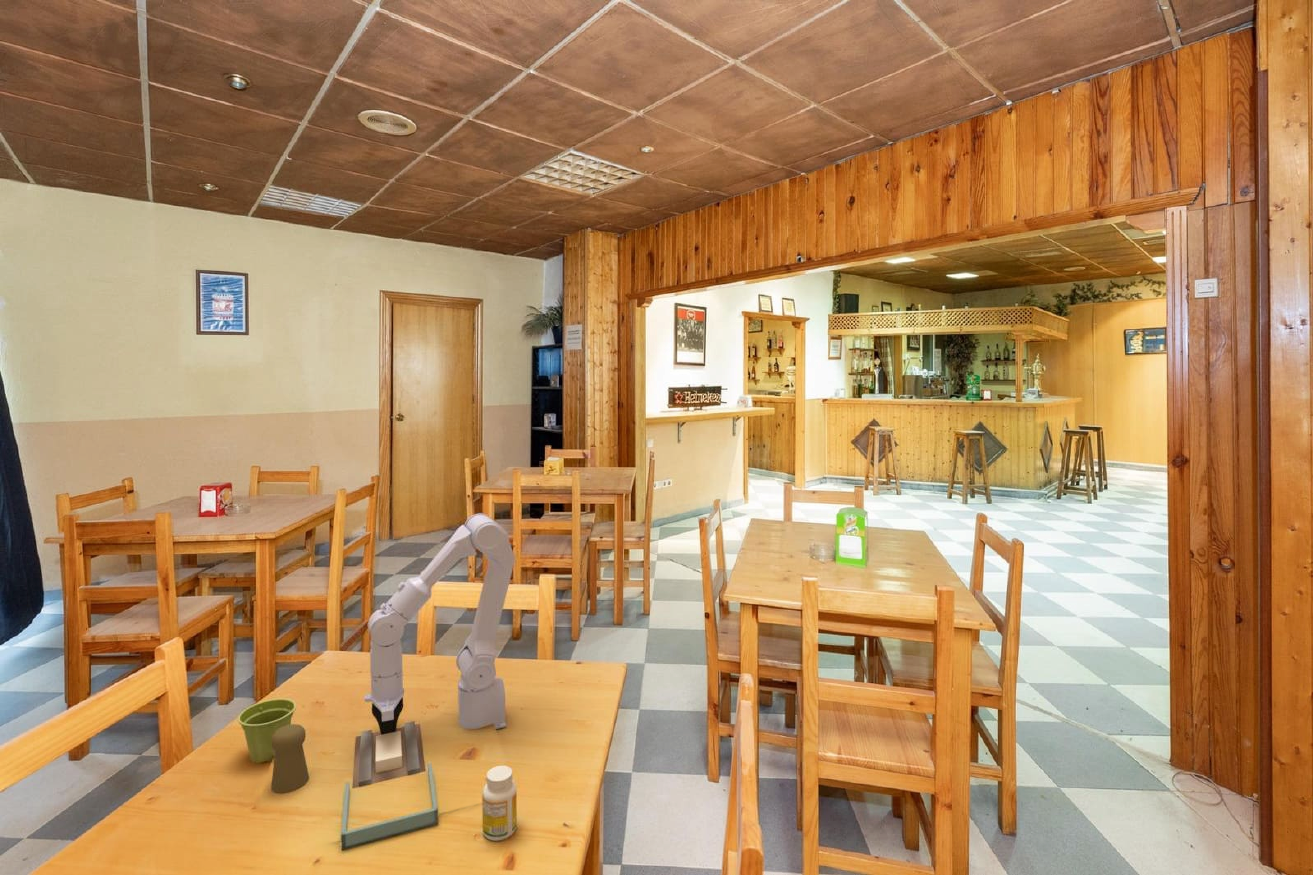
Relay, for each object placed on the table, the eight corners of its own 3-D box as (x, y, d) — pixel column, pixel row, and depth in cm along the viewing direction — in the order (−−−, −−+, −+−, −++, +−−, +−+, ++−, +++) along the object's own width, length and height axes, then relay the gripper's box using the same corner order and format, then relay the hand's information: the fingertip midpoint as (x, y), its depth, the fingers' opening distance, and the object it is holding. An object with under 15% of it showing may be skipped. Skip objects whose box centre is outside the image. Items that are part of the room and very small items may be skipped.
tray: (431, 776, 111) (431, 763, 111) (438, 824, 99) (437, 809, 99) (345, 796, 106) (345, 782, 105) (341, 850, 94) (341, 835, 93)
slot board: (420, 728, 127) (419, 719, 127) (425, 776, 111) (425, 766, 111) (355, 741, 122) (355, 732, 122) (352, 793, 106) (352, 783, 106)
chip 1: (400, 741, 120) (400, 730, 120) (401, 753, 116) (401, 742, 116) (376, 746, 119) (376, 735, 118) (376, 759, 115) (375, 748, 114)
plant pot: (308, 747, 120) (306, 705, 119) (260, 775, 111) (258, 729, 111) (277, 735, 124) (276, 694, 123) (228, 761, 115) (226, 717, 114)
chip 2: (401, 753, 116) (401, 742, 116) (402, 767, 112) (401, 755, 112) (376, 759, 115) (375, 748, 114) (375, 773, 111) (375, 761, 110)
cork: (292, 801, 104) (289, 740, 103) (261, 796, 105) (259, 736, 104) (318, 779, 110) (315, 721, 109) (289, 775, 111) (286, 717, 110)
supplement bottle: (495, 847, 95) (494, 788, 94) (475, 830, 98) (474, 774, 97) (523, 828, 99) (523, 772, 98) (503, 813, 102) (503, 758, 101)
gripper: (365, 659, 124) (366, 723, 125) (362, 692, 111) (365, 763, 112) (402, 653, 127) (404, 715, 128) (404, 684, 114) (406, 754, 115)
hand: (388, 737), depth 120 cm, fingers closed
